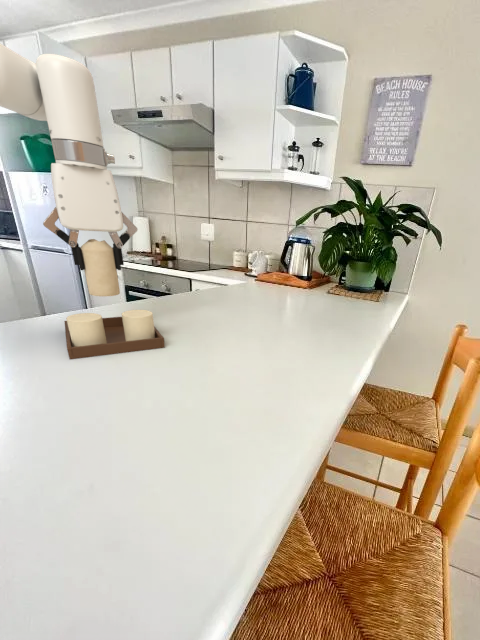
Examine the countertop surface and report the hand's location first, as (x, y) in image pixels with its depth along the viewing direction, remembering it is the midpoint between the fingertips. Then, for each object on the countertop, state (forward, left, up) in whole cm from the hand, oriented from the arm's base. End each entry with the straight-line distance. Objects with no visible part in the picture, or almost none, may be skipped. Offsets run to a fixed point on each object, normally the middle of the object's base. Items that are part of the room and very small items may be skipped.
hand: (100, 268), depth 63 cm
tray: (0, -3, -14) cm, 15 cm away
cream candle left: (-5, -7, -13) cm, 16 cm away
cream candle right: (+4, -7, -13) cm, 16 cm away
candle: (0, 0, -5) cm, 5 cm away
